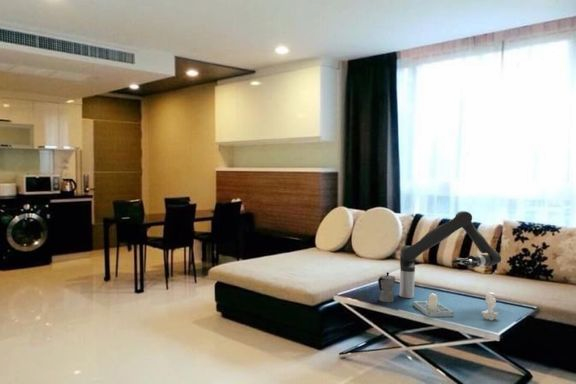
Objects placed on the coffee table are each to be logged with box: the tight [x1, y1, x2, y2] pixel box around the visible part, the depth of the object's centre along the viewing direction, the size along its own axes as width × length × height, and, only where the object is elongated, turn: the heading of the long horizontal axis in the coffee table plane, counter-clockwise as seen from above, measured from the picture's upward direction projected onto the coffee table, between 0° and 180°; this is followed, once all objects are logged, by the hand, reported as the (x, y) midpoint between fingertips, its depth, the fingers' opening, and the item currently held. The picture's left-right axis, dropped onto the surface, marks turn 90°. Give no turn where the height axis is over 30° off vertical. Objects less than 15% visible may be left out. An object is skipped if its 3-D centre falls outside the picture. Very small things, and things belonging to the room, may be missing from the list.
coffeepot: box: [377, 271, 396, 303], centre depth 291 cm, size 15×9×18 cm, turn 129°
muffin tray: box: [412, 300, 454, 318], centre depth 273 cm, size 22×15×3 cm
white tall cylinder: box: [428, 292, 438, 312], centre depth 265 cm, size 5×5×12 cm
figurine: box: [480, 291, 500, 321], centre depth 260 cm, size 7×9×15 cm
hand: (459, 263), depth 277 cm, fingers open, 8 cm apart
